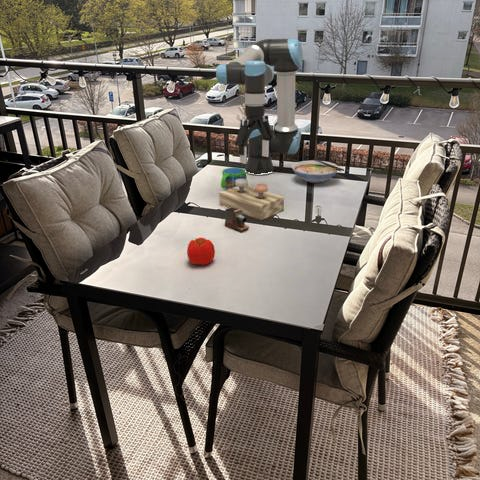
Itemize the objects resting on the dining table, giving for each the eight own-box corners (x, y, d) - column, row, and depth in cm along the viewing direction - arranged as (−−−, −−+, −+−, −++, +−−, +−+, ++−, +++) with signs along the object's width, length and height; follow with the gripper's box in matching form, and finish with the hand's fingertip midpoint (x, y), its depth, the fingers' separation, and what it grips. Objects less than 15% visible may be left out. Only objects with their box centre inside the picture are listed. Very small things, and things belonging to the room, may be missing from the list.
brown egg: (260, 198, 193) (260, 183, 191) (269, 200, 190) (270, 185, 187) (252, 201, 190) (252, 186, 187) (261, 204, 187) (261, 189, 184)
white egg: (241, 192, 200) (241, 177, 198) (250, 194, 197) (250, 180, 194) (233, 195, 197) (232, 180, 194) (241, 197, 194) (241, 183, 191)
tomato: (200, 253, 158) (199, 233, 154) (220, 260, 153) (219, 240, 149) (181, 263, 151) (179, 242, 148) (200, 271, 146) (199, 250, 143)
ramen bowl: (281, 177, 234) (282, 161, 230) (319, 171, 242) (320, 156, 239) (308, 192, 213) (309, 175, 210) (348, 185, 222) (350, 168, 218)
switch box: (242, 197, 208) (242, 184, 205) (283, 210, 192) (284, 197, 190) (219, 205, 199) (219, 192, 196) (261, 220, 183) (261, 206, 181)
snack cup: (238, 185, 223) (238, 164, 219) (254, 190, 216) (254, 169, 212) (214, 193, 213) (213, 171, 209) (229, 198, 206) (229, 176, 202)
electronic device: (241, 233, 172) (241, 214, 169) (224, 226, 179) (223, 208, 175) (249, 229, 175) (249, 211, 172) (232, 223, 181) (231, 205, 178)
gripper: (267, 100, 185) (266, 152, 194) (225, 107, 169) (226, 164, 178) (282, 101, 181) (281, 155, 190) (240, 109, 164) (240, 167, 173)
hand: (254, 159), depth 184 cm, fingers open, 13 cm apart
